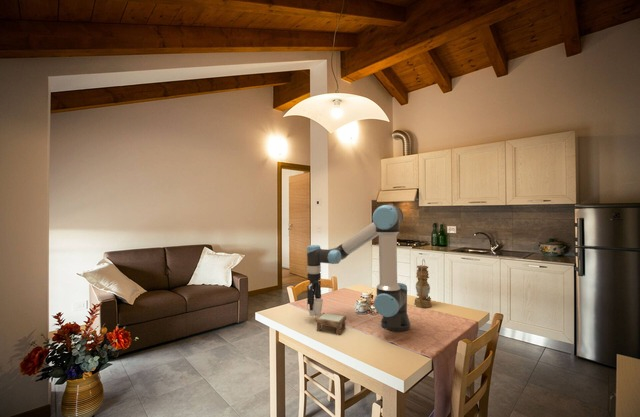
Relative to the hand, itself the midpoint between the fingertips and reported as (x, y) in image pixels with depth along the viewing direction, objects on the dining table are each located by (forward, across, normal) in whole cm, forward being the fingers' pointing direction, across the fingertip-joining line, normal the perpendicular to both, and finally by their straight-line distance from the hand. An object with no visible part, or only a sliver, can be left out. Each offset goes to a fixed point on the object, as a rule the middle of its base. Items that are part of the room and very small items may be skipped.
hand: (314, 313), depth 170 cm
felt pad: (-2, +9, +13) cm, 16 cm away
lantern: (+5, -51, +54) cm, 75 cm away
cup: (+1, 0, 0) cm, 1 cm away
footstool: (+4, +9, +13) cm, 16 cm away
